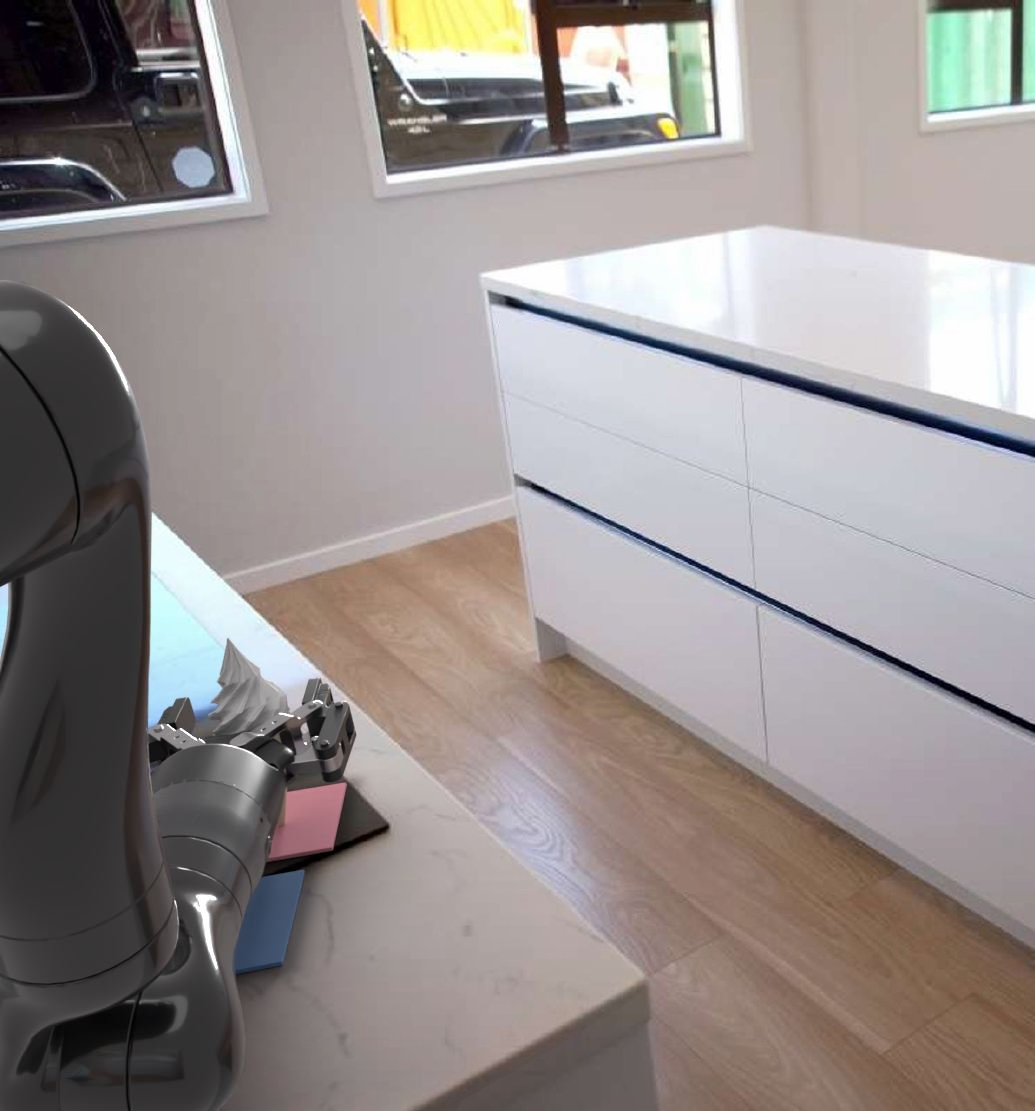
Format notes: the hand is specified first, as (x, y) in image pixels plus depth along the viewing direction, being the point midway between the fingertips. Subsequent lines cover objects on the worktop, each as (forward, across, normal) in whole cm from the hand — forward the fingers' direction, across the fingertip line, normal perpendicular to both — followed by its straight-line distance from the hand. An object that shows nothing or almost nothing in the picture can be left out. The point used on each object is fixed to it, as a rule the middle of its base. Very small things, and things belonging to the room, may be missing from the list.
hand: (253, 699), depth 87 cm
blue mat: (-12, +2, +9) cm, 16 cm away
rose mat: (-2, 0, +9) cm, 9 cm away
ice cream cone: (-2, 0, +9) cm, 9 cm away
